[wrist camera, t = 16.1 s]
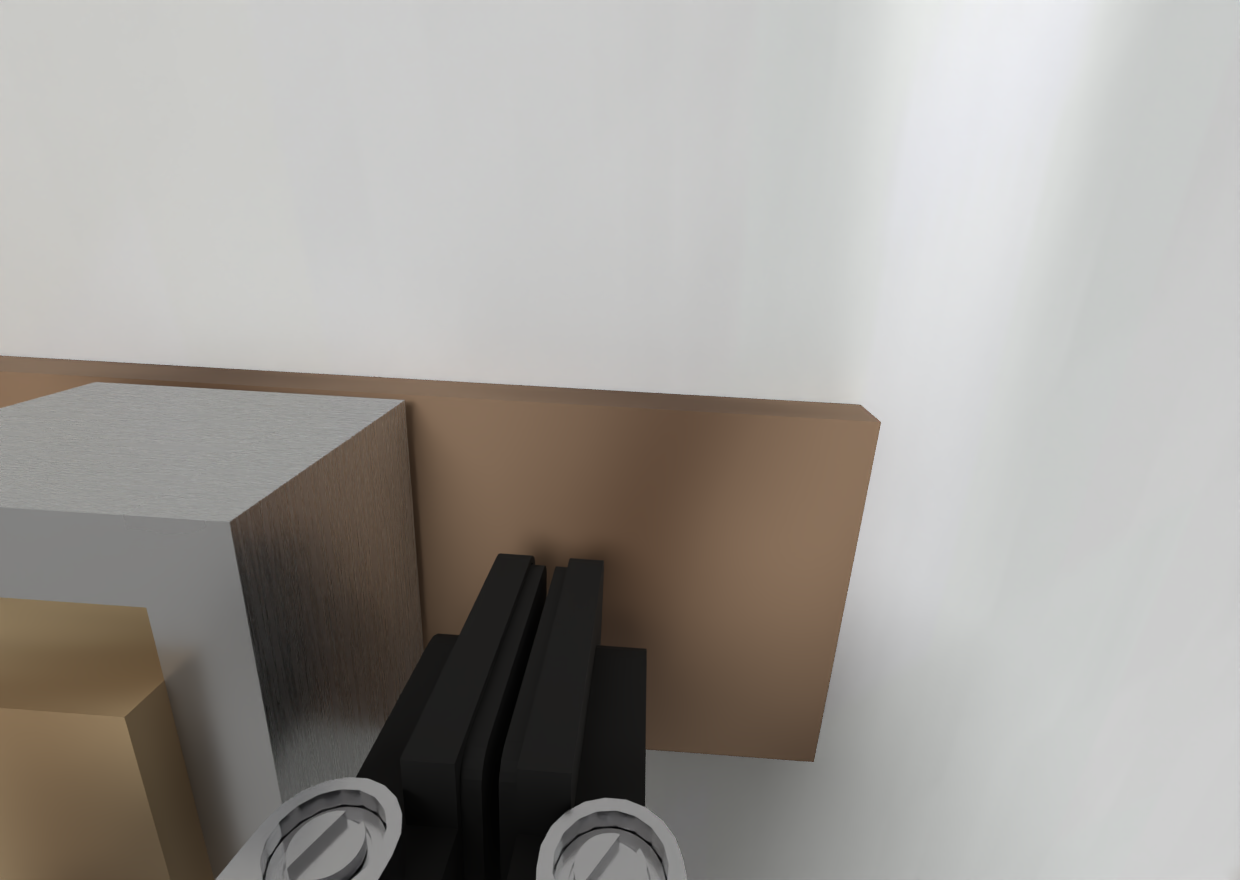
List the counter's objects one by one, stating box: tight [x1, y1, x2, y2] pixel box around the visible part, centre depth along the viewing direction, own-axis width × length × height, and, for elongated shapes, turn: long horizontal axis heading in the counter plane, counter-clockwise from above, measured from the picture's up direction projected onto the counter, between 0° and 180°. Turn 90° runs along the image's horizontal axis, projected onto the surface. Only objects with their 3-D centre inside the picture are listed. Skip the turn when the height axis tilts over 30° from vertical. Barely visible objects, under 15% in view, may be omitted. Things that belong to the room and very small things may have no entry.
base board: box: [0, 356, 881, 762], centre depth 12 cm, size 24×7×1 cm, turn 87°
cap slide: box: [0, 382, 424, 880], centre depth 9 cm, size 5×7×4 cm
